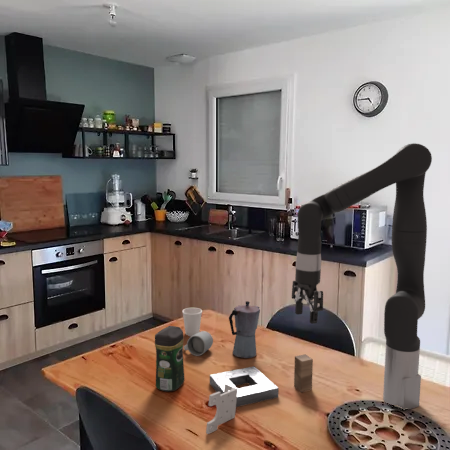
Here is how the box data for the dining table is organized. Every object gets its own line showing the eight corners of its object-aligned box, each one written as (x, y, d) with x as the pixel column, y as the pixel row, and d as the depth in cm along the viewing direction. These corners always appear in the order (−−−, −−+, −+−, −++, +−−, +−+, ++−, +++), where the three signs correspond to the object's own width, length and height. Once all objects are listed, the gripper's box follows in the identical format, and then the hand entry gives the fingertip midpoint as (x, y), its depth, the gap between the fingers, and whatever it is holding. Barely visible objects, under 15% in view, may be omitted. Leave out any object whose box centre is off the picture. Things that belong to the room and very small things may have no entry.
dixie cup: (194, 339, 180) (194, 315, 178) (178, 334, 184) (177, 311, 183) (206, 332, 186) (206, 309, 185) (190, 328, 191) (190, 306, 190)
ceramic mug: (214, 349, 169) (214, 330, 168) (205, 357, 162) (204, 337, 161) (189, 345, 174) (189, 326, 173) (179, 353, 166) (179, 333, 165)
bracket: (222, 415, 126) (225, 380, 126) (234, 421, 124) (237, 385, 123) (195, 427, 118) (199, 390, 117) (208, 434, 115) (211, 396, 115)
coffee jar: (165, 376, 147) (165, 322, 145) (187, 380, 145) (187, 325, 142) (151, 390, 138) (150, 332, 136) (174, 394, 136) (173, 336, 133)
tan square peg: (311, 389, 139) (312, 359, 138) (301, 392, 137) (301, 361, 136) (304, 384, 143) (305, 354, 141) (294, 386, 141) (294, 356, 140)
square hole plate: (278, 397, 134) (278, 388, 134) (229, 408, 128) (229, 398, 128) (254, 374, 149) (254, 366, 148) (209, 383, 143) (209, 374, 142)
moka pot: (267, 351, 167) (268, 300, 165) (240, 365, 156) (240, 309, 154) (247, 345, 174) (248, 295, 171) (220, 357, 163) (220, 304, 160)
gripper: (332, 271, 130) (329, 325, 132) (306, 261, 143) (304, 309, 146) (310, 273, 127) (307, 327, 130) (286, 262, 141) (283, 312, 143)
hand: (305, 318), depth 138 cm, fingers open, 8 cm apart
